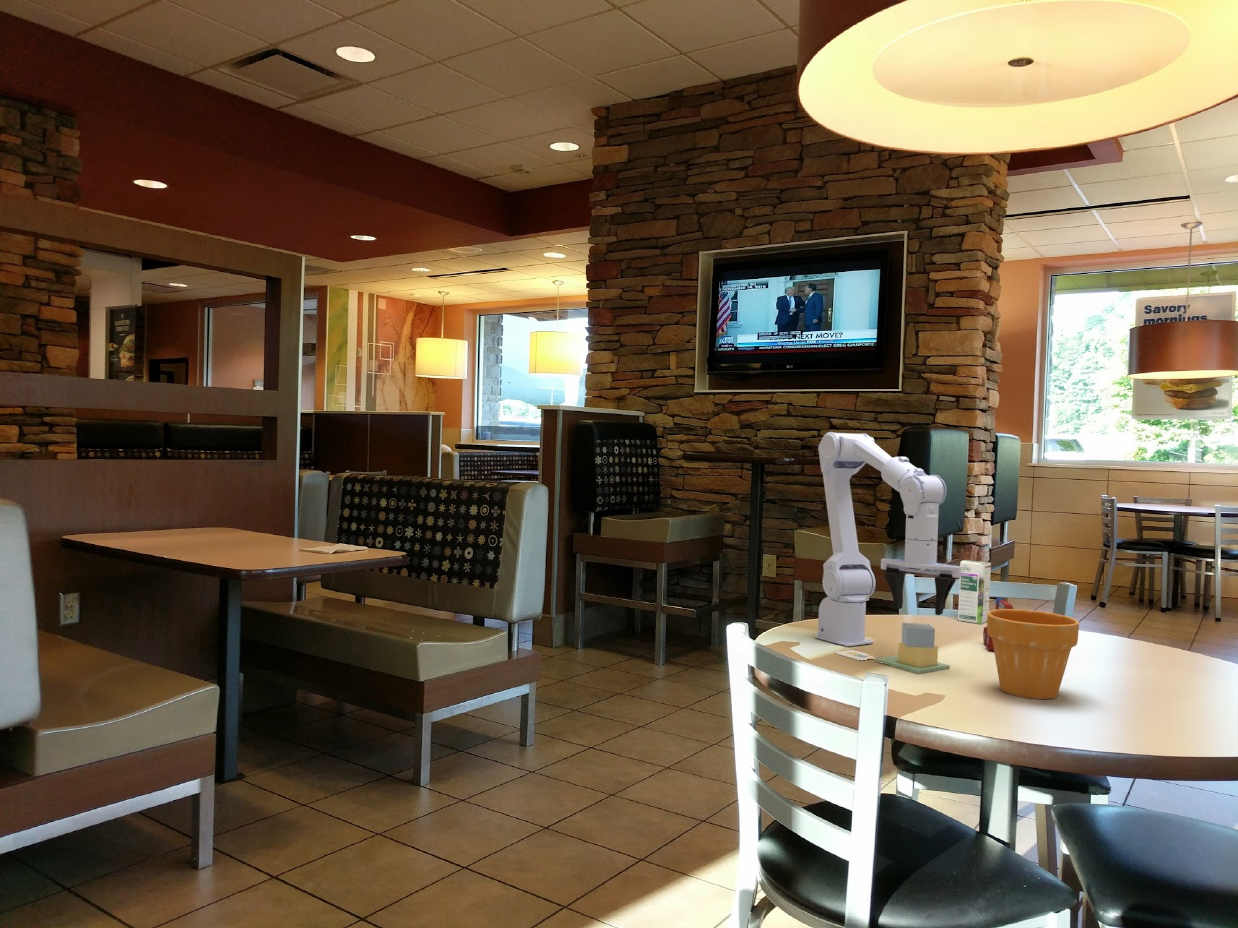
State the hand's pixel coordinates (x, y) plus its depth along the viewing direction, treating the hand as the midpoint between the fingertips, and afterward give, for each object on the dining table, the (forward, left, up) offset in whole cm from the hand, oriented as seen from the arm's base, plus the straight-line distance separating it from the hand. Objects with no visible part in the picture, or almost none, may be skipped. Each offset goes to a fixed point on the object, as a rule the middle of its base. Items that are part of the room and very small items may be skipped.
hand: (918, 611), depth 168 cm
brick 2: (0, 0, -10) cm, 10 cm away
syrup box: (-24, +51, -11) cm, 57 cm away
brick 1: (0, 0, -6) cm, 6 cm away
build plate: (-1, 0, -10) cm, 10 cm away
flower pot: (+21, +3, -11) cm, 24 cm away
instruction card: (-11, -4, -10) cm, 16 cm away
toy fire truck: (-2, +30, -11) cm, 32 cm away
